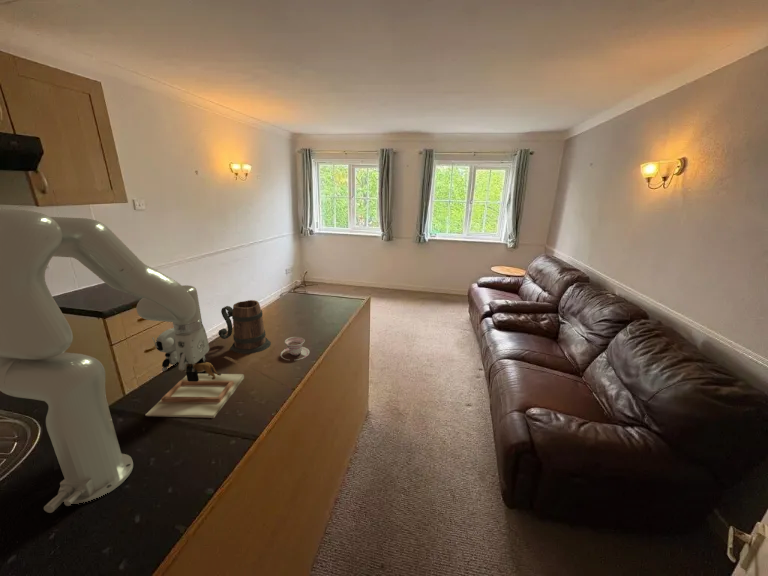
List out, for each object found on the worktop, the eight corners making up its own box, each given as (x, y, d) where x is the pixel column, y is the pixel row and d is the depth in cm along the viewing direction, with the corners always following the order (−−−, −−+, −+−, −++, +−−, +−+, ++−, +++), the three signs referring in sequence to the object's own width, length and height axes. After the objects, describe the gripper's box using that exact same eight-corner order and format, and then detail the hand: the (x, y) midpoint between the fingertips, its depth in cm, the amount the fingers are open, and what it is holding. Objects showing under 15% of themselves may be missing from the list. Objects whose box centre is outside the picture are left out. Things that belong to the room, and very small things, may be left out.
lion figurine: (178, 384, 98) (174, 363, 96) (183, 376, 102) (179, 356, 100) (220, 379, 102) (217, 359, 99) (222, 372, 106) (220, 353, 103)
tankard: (278, 340, 143) (275, 299, 137) (256, 358, 127) (251, 313, 122) (234, 334, 148) (229, 294, 142) (207, 350, 132) (200, 307, 126)
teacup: (315, 352, 134) (315, 339, 132) (294, 364, 124) (293, 350, 122) (295, 345, 140) (295, 332, 138) (274, 356, 130) (273, 342, 128)
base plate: (214, 419, 93) (213, 411, 92) (146, 419, 92) (144, 411, 92) (244, 377, 114) (243, 371, 113) (188, 377, 114) (187, 370, 113)
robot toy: (167, 374, 115) (160, 337, 110) (158, 372, 116) (150, 336, 111) (194, 358, 126) (189, 324, 122) (185, 356, 127) (179, 323, 123)
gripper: (184, 338, 88) (194, 392, 93) (214, 315, 104) (221, 363, 109) (157, 337, 88) (169, 392, 93) (191, 314, 104) (199, 363, 109)
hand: (197, 376), depth 101 cm, fingers closed on lion figurine, 4 cm apart
